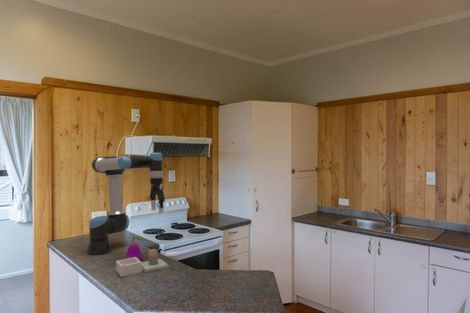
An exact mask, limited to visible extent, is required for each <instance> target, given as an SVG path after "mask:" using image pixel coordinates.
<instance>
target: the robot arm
mask: <svg viewBox="0 0 470 313" xmlns="http://www.w3.org/2000/svg"><path fill="white" fill-rule="evenodd" d="M91 168H92V170H93V171H94V172H95V173H97V174H105V176H106V177H107V180H108V181H107V182H108V195H109V196H108V198H109V212H108V213H107V215H101V216H95V217H93V218H91V219H90V221H89V225H88V226H89V243H88V247H87V249H86V253H87V255H89V256H101V255H104V254H105V255H106V254H108V253H110V252H112V246H111V243H110V240H109V235H112V234H116V233H117V234H118V233H121V232H124V231H126V230H128V229H129V226H130V218H129V215H128V214H126V211H124V206H123V204H124V203H123V191H122V190H123V189H122V187H123V186H122V176H124V173H125V171H126V170H131V169H149V176H150V177H149V179H150V180H149V182H150V193H149V199H150V207H151V209H150V210H151V211H156V210H157V206H156V205H157V204H158V214H164V203H165V202H166V199H165V194H164V190H163V189H164V188H163V185H162V184H163V183H164V181H163V176H164V174H163V173H164V172H163V154H162V152H150V153H149V155H135V156H134V155H133V156H126V155H125V156H118V155H117V156H116V155H115V156H98V157H95V159H93V160H92V161H91ZM156 197H157V198H156ZM156 200H158V202H156ZM156 203H157V204H156Z"/></svg>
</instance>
